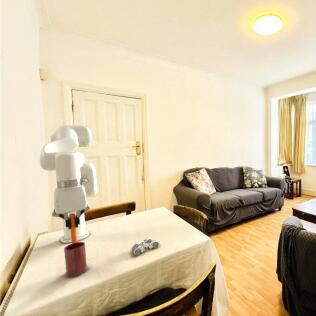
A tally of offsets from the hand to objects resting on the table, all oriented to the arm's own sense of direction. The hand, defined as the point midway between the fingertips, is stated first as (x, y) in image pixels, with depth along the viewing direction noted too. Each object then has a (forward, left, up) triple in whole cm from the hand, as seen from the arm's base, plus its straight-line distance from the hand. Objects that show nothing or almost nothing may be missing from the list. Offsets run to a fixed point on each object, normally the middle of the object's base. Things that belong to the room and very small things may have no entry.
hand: (73, 227), depth 83 cm
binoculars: (0, +27, -20) cm, 34 cm away
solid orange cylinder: (0, 0, -7) cm, 7 cm away
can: (0, 0, -20) cm, 20 cm away
